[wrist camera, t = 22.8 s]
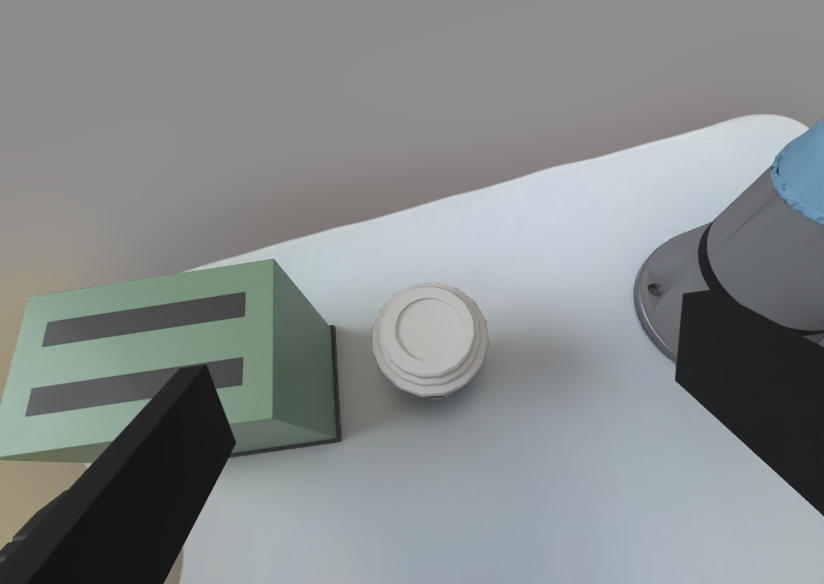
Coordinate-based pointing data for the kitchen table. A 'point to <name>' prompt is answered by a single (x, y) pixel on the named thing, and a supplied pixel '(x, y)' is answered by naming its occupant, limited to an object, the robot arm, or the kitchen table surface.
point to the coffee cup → (430, 340)
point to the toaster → (171, 362)
